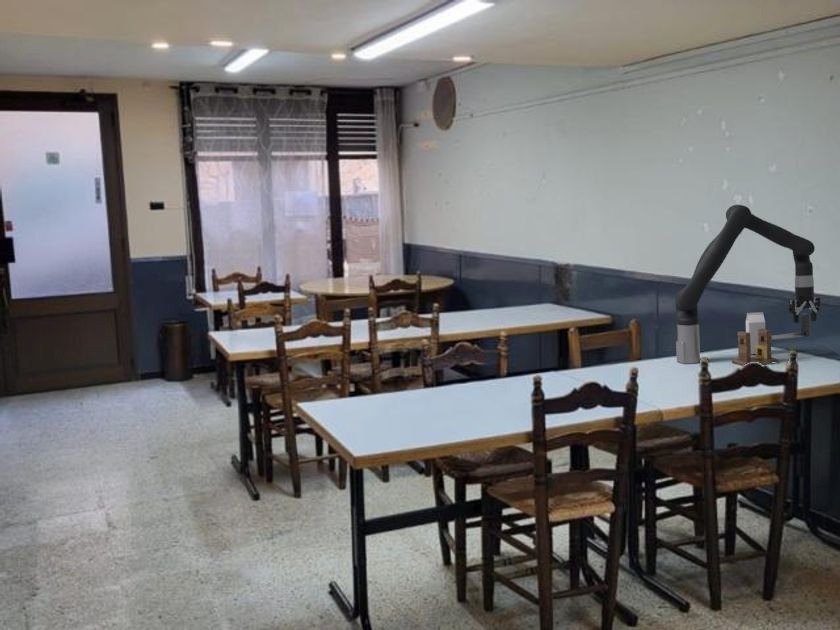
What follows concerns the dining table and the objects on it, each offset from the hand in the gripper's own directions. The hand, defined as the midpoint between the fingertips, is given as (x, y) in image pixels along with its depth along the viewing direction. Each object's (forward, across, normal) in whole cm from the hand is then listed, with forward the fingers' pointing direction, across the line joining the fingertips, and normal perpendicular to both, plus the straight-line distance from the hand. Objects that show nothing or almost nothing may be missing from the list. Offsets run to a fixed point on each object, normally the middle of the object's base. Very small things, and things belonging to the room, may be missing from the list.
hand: (805, 322), depth 369 cm
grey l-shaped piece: (+6, -10, 0) cm, 11 cm away
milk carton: (+16, -12, +18) cm, 27 cm away
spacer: (+14, -22, 0) cm, 26 cm away
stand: (+15, -25, 0) cm, 30 cm away
